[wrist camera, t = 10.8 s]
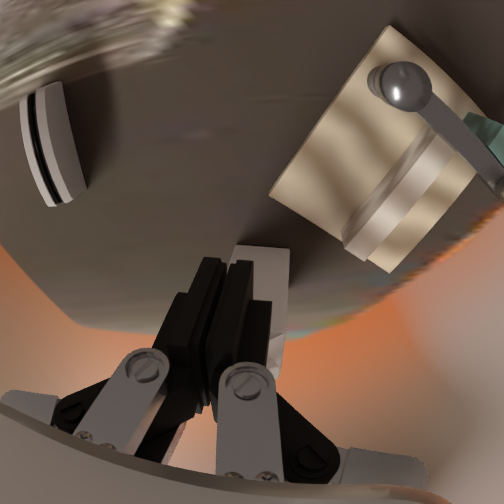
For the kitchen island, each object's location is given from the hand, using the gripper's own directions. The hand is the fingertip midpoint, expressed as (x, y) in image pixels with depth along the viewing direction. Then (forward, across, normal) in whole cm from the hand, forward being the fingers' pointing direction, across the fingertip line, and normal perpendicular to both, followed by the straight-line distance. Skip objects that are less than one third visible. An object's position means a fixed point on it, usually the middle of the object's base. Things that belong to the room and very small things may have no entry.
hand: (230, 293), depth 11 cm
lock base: (+27, -14, +1) cm, 31 cm away
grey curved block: (+28, +28, -1) cm, 39 cm away
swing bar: (+21, -17, -4) cm, 27 cm away
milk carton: (+27, +1, +18) cm, 33 cm away
